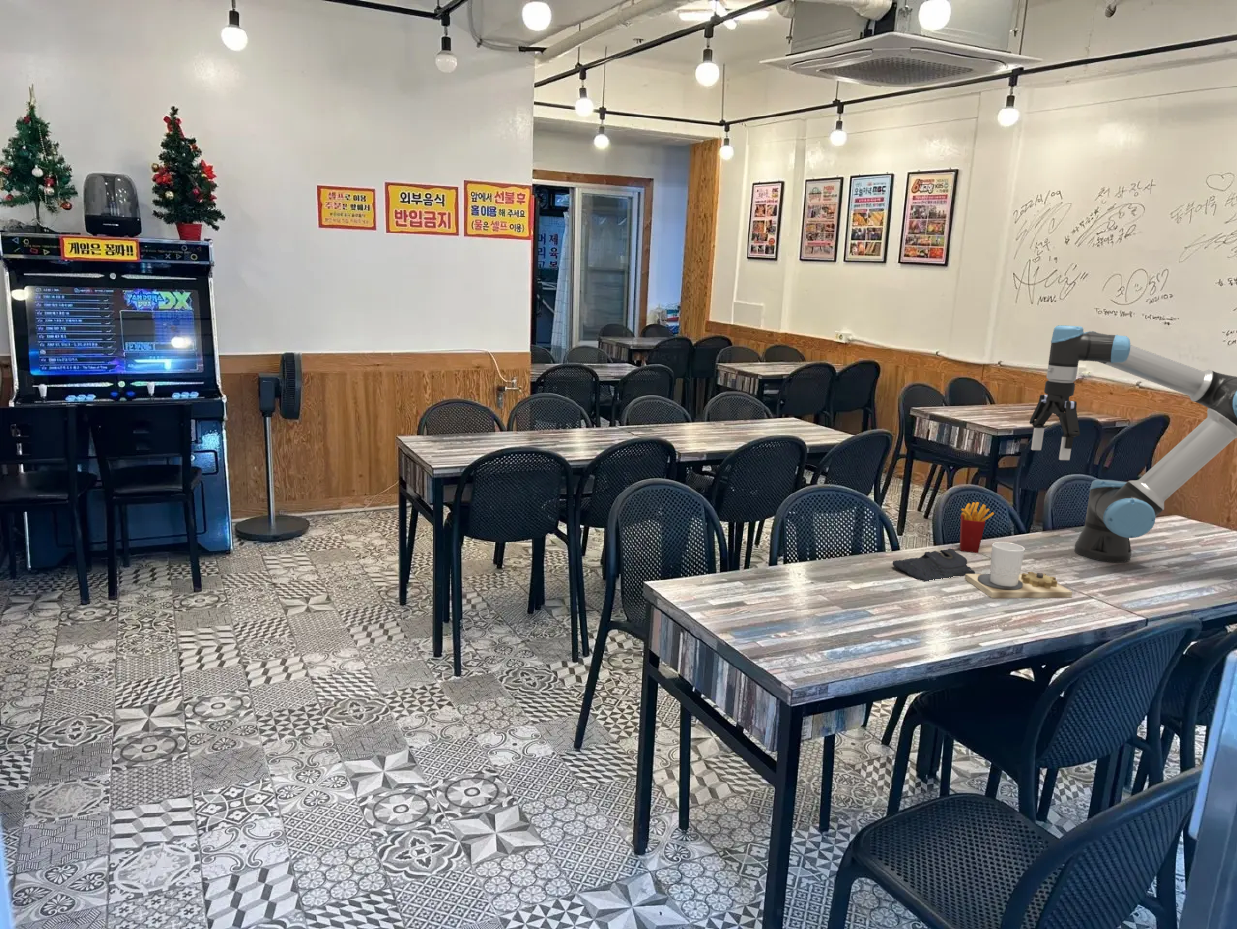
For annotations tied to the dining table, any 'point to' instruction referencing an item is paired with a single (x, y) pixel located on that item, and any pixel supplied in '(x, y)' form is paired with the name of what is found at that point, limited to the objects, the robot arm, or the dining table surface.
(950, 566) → the dark slate chunk
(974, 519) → the french fries
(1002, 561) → the white cup
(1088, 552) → the robot arm
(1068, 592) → the gear board
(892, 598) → the dining table surface
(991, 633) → the dining table surface
